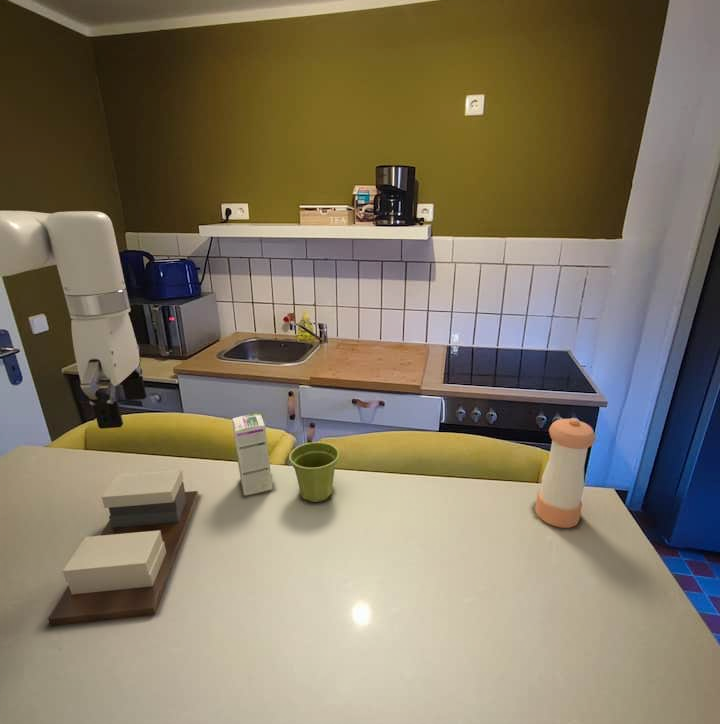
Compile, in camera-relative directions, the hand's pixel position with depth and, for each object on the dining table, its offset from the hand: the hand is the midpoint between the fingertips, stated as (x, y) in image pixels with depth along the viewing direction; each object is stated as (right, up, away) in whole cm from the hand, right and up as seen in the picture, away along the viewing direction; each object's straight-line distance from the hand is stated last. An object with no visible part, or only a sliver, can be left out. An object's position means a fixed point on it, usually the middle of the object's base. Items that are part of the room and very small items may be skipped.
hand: (124, 412), depth 67 cm
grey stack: (-1, -19, +10) cm, 22 cm away
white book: (-1, -15, +8) cm, 17 cm away
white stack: (+1, -24, -3) cm, 24 cm away
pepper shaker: (+72, -20, +11) cm, 76 cm away
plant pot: (+28, -18, +17) cm, 37 cm away
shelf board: (0, -23, +4) cm, 23 cm away
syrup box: (+16, -17, +20) cm, 30 cm away
